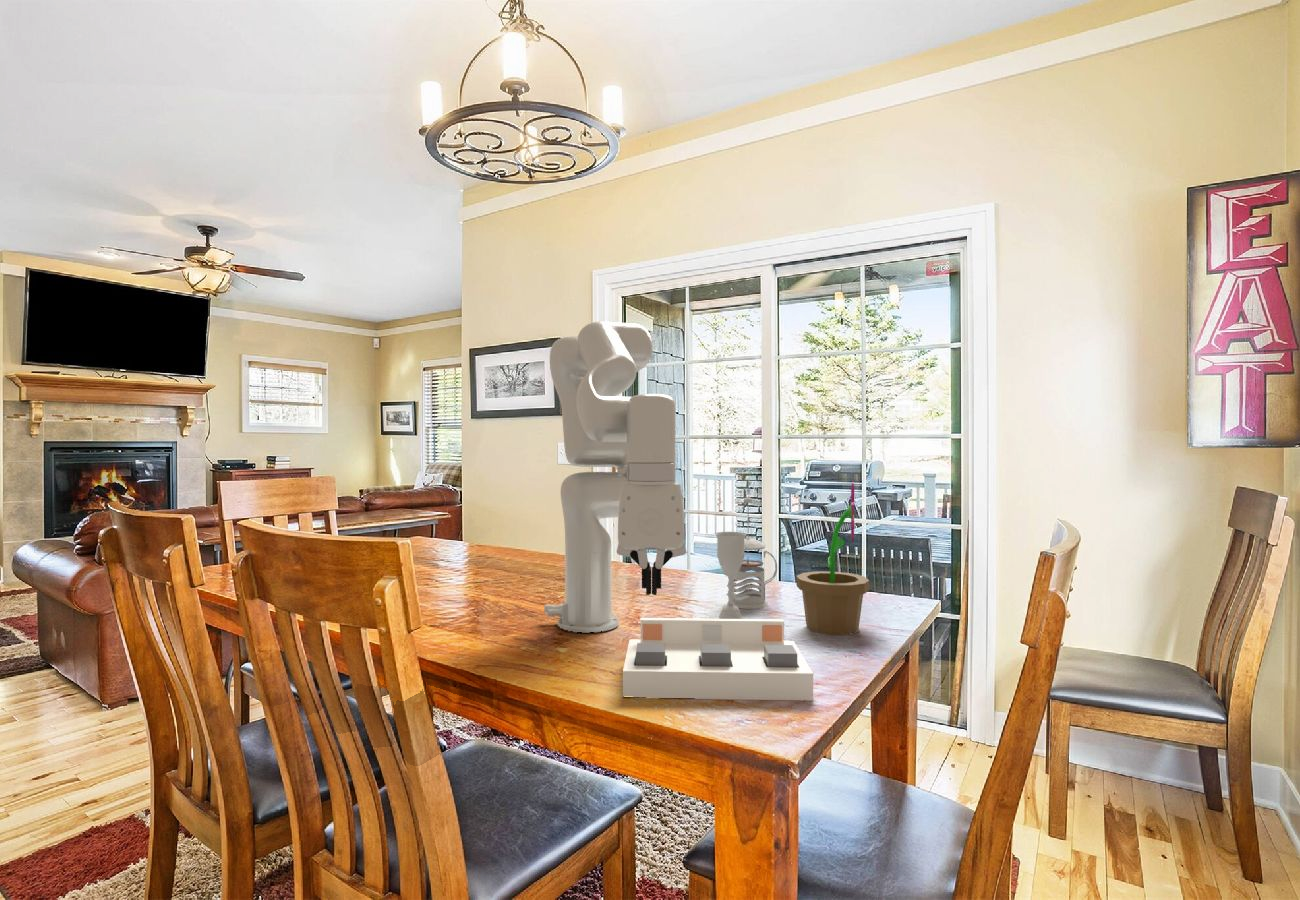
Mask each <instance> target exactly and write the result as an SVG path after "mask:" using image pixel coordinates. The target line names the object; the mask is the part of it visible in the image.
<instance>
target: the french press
mask: <svg viewBox="0 0 1300 900" xmlns="http://www.w3.org/2000/svg"><path fill="white" fill-rule="evenodd" d="M743 502H744V503H747V537H745V539H744V551H757V550H758V551H759V550H764V549H765V548H766V544H765V543H763V542H762V541H759V540H757V539H754V538H751V537H750V536H749V533H750V532H749V529H750V528H749V525H750V524H749V523H750V522H749V519H750V518H749V513H750V512H749V507H750V506H749V503H753V499H752V497H750V496H749V497H745V498H744V501H743ZM767 554H768V555H769V556H771V557H772V559H773V561H774V566H775V567H774V568H775V570H774V572H773V575H772V577H771V576H770V578H769V579H767V580H765V568H764V567H761V566H763V565H764V562H763V561H761V560H757V559H755V560H754V559H749V558H748V559H743V562H742V565H741V567H740V569H739V572H738V574H737V575H736V576H734V577H733V585H734V587H733V593H734V594H735V595H734V596H733V603H734V605H736V606H738V608H739V609H747V610H748V609H750V610H751V609H752V610H754V609H755V610H756V608H758V609H763V607H764V608H766V606H767V607H769V605H768V604H769V603H768V602H767V600H766V585H767V584H768V583H769V584H770V583H771V582H772V581H773V580H774V579H775V578H776V576H777V572H778V564H777V563H778V562H777V560H776V558H775V556H774V555H773V554H772V553H770V552H769V551H768V550H764V551H763V558H764V559H765V558H766V555H767ZM755 578H757V579H755ZM738 581H739V582H738ZM736 582H738V583H736ZM754 583H755V584H754ZM757 584H758V585H757ZM737 587H738V588H737ZM756 589H757V590H756ZM727 603H728V601H727V602H726V604H727Z"/></svg>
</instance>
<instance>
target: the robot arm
mask: <svg viewBox="0 0 1300 900" xmlns="http://www.w3.org/2000/svg"><path fill="white" fill-rule="evenodd" d="M652 354H653V340H652V336H651V334H650V333H649V331H648V329H647V328H646V327H645V326H643V325H641V324H637V323H630V322H614V321H593V322H590V323H588V324H586V325H585V326H583V327H582V329H581V330H580V331H579V332H578V336H565V337H561V338H559V339H557V340H555V341H553V343H552V346H551V348H550V351H549V370H550V376H551V379H552V383H553V386H554V388H555V391H556V394H557V396H558V400H559V402H560V406H561V407H560V408H561V418H562V419H561V420H562V431H563V443H564V444H563V445H564V452H565V453H564V454H565V457H566V460H567V462H568V463H569V464H570V465H572V466H575V467H579V468H615V469H616V471H583V472H581V471H580V472H576V473H573V474H569V475H568V476H567V477H565V478H564V479H563V480H562V483H561V486H560V500H561V508H562V515H563V521H564V555H565V556H564V558H565V559H564V565H565V566H564V568H565V569H564V572H565V573H564V575H565V578H564V579H565V580H564V581H565V582H564V583H565V585H564V587H565V588H564V592H565V593H564V594H565V595H564V602H563V603H562V602H561V603H559V604H557V605H555V604H544V608H543V609H544V611H543V613H544V615H547V616H549V617H555V616H558V617H559V618H558V619H557V627H558V626H559V627H560V628H559V627H558V628H559V629H561V628H562V629H564V630H563V631H565V630H568V631H567V632H570V631H573V632H572V633H577V632H582V633H581V634H591V633H590V632H594V633H600V632H601V631H602V632H607V631H610V630H614V629H615V628H617V627H618V626H619V625H620V619H619V617H618V616H617V615H615V614H612V538H611V536H610V534H609V533H608V531H607V530H606V528H605V527H604V526H603V525H602V523H601V521H600V520H601V519H607V518H608V519H609V518H617V541H618V544H617V548H616V553H617V555H619V556H623V557H626V558H631V559H632V560H633V562H635V563H636V564H637V565H638V566H639V568H641V589H646V590H645V595H646V596H650V595H653V596H657V595H658V593H657V592H658V589H662V568H663V567H664V566H665V565H666V564H667V563H668V562H669V561H670V560H671V559H673V558H676V557H677V558H678V557H680V556H684V555H686V553H687V547H686V544H685V535H686V534H685V531H686V530H685V512H684V507H685V506H684V499H683V490H682V486H681V484H680V483H677V482H676V402H675V401H674V399H673V397H671V396H670V395H668V394H667V395H666V394H660V393H659V394H658V393H648V394H647V393H645V394H642V393H641V394H636V395H633V396H619V395H620V394H622V393H624V392H626V391H628V389H629V388H631V386H632V385H633V384H634V382H635V380H636V377H637V373H638V372H639V371H640V370H642V369H644V368H645V367H646V366H647V365H648V363H649V362H650V360H651V357H652V356H653V355H652ZM648 550H650V551H651V550H653V551H654V550H655V551H656V557H655V561H654V562H653V563H652V564H653V566H651V562H649V559H648V553H647V551H648ZM562 629H561V630H562Z"/></svg>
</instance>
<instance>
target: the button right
mask: <svg viewBox="0 0 1300 900" xmlns="http://www.w3.org/2000/svg"><path fill="white" fill-rule="evenodd" d="M764 663H765V665H766V667H789V668H797V652H796V650H795V649H794V647H793V645H764Z"/></svg>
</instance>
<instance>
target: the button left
mask: <svg viewBox="0 0 1300 900" xmlns="http://www.w3.org/2000/svg"><path fill="white" fill-rule="evenodd" d="M636 666H665V643H637V649H636Z"/></svg>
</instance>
